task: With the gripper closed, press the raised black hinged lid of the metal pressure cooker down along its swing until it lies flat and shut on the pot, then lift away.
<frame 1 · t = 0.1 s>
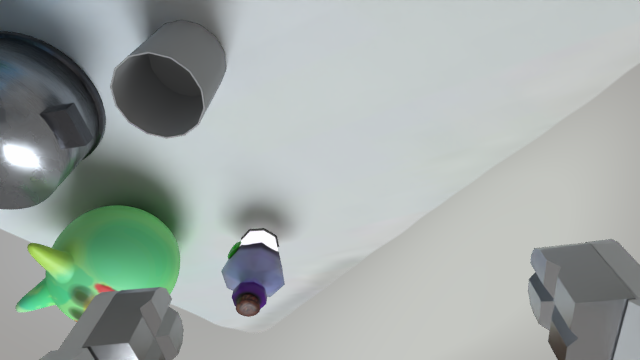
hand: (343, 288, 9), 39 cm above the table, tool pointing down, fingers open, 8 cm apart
toy bird: (132, 229, 62), on the table
cooker pot: (32, 103, 50), on the table
cup: (188, 58, 47), on the table
potion bottle: (260, 241, 62), on the table
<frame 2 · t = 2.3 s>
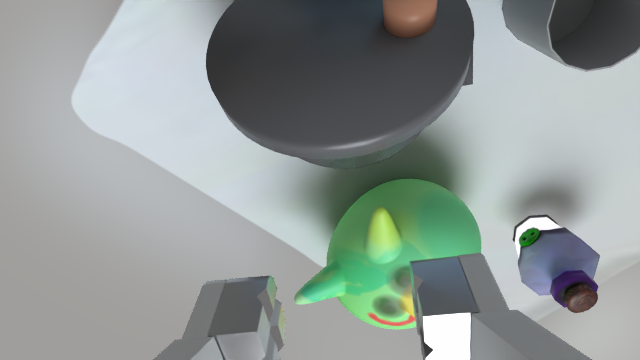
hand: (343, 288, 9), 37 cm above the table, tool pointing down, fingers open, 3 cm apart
toy bird: (389, 215, 53), on the table
cooker pot: (342, 54, 43), on the table
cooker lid: (332, 20, 26), point 17 cm above the table, hinge at 60.0°
potion bottle: (534, 231, 54), on the table
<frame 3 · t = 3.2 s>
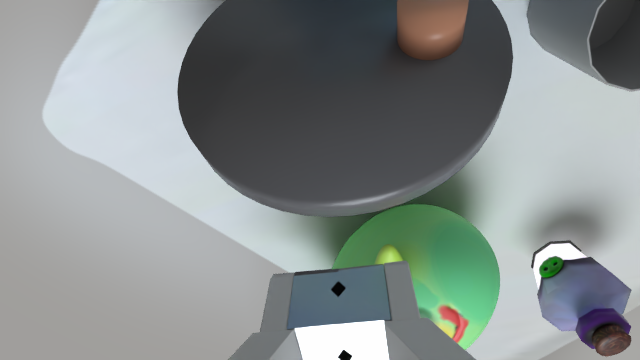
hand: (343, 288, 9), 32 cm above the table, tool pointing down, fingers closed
toy bird: (395, 240, 49), on the table
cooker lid: (333, 36, 21), point 17 cm above the table, hinge at 60.0°
cup: (578, 3, 35), on the table
potion bottle: (555, 257, 49), on the table
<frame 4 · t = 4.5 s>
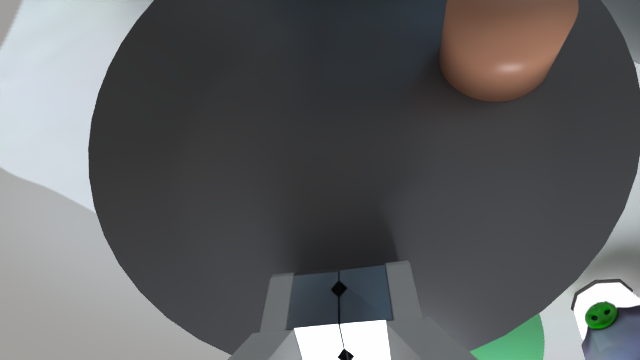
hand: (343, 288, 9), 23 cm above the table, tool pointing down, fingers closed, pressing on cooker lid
toy bird: (408, 278, 40), on the table
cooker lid: (334, 54, 13), point 17 cm above the table, hinge at 54.8°, touching gripper
potion bottle: (600, 298, 41), on the table
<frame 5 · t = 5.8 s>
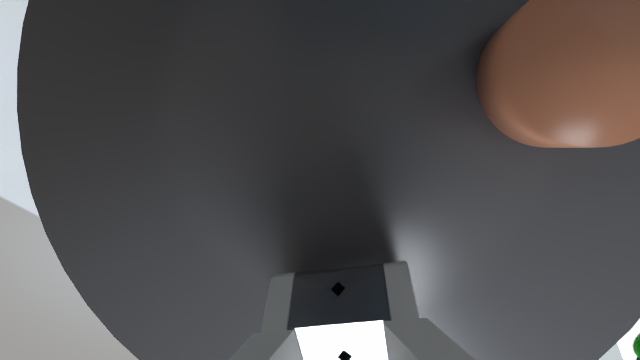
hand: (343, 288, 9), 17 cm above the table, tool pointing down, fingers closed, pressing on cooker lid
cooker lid: (334, 62, 9), point 15 cm above the table, hinge at 26.9°, touching gripper
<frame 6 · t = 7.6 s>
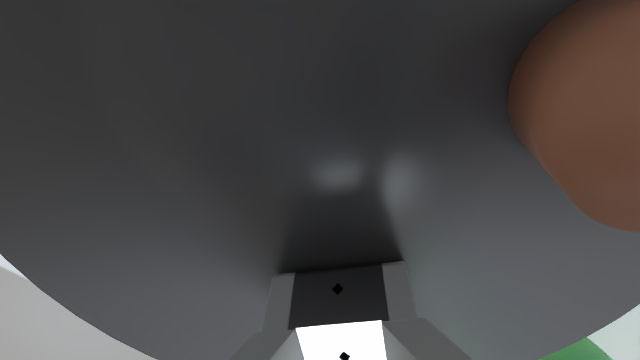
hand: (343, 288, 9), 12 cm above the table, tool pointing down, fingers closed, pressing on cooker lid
toy bird: (430, 341, 28), on the table
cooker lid: (322, 69, 7), point 12 cm above the table, hinge at 0.1°, touching gripper
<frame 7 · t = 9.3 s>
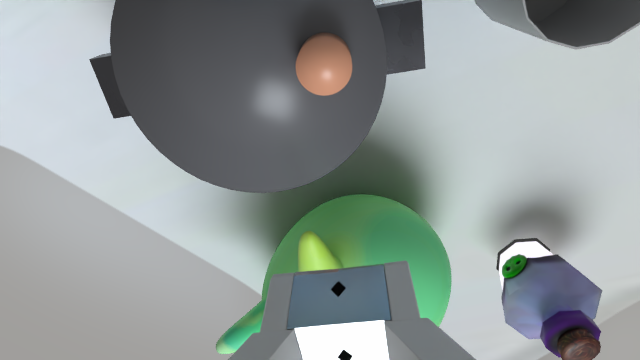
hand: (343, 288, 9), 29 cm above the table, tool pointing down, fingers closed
toy bird: (346, 239, 44), on the table
cooker pot: (275, 39, 35), on the table
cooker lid: (244, 55, 24), point 12 cm above the table, hinge at 0.1°
potion bottle: (522, 258, 44), on the table
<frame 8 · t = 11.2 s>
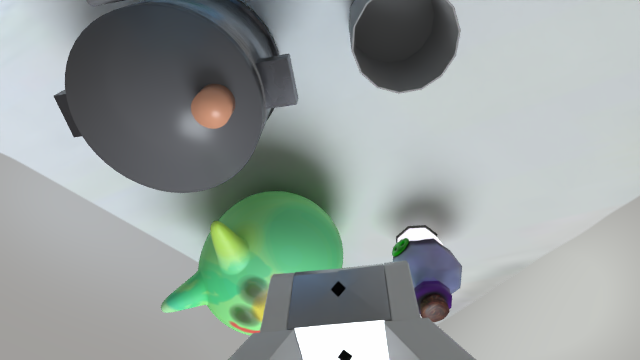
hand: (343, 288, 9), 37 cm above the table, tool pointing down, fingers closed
toy bird: (274, 225, 55), on the table
cooker pot: (203, 70, 45), on the table
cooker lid: (160, 98, 34), point 12 cm above the table, hinge at 0.1°
cup: (391, 19, 42), on the table
potion bottle: (416, 241, 55), on the table
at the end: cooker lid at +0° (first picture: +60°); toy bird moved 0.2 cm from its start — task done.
